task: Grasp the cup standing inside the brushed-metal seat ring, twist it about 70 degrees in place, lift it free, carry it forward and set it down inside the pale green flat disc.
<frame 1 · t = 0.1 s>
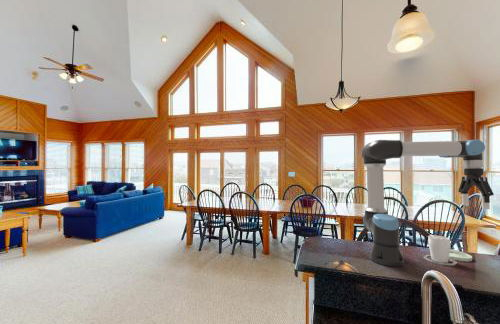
hand: (475, 207, 118), 28 cm above the counter, fingers open, 13 cm apart
seat ring: (439, 260, 115), on the counter
pale green flat disc: (455, 256, 120), on the counter
cup: (439, 260, 115), resting in seat ring
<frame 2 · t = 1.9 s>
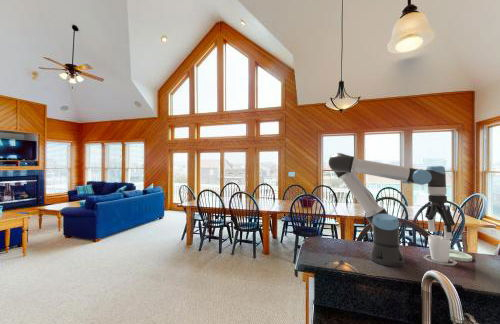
hand: (439, 234, 115), 13 cm above the counter, fingers open, 13 cm apart
nothing on the counter moved.
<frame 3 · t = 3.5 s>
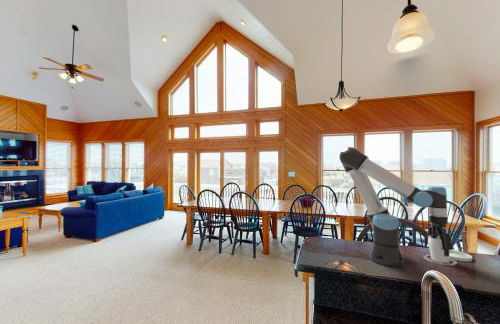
hand: (439, 258, 115), 1 cm above the counter, fingers closed on cup, 9 cm apart
cup: (439, 260, 115), resting in seat ring, touching gripper
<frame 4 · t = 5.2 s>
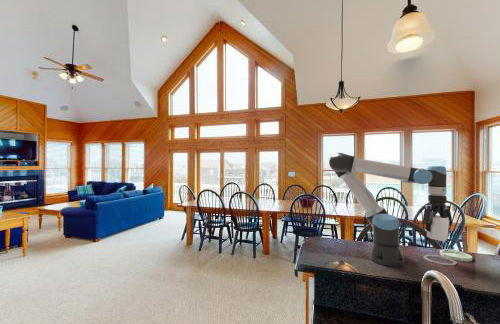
hand: (437, 237, 116), 12 cm above the counter, fingers closed on cup, 9 cm apart
cup: (437, 239, 115), point 11 cm above the counter, touching gripper
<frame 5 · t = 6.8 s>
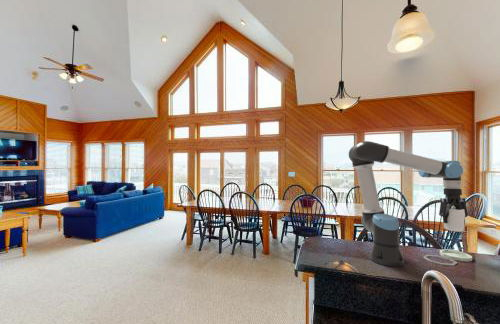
hand: (454, 228, 121), 15 cm above the counter, fingers closed on cup, 9 cm apart
cup: (454, 230, 121), point 14 cm above the counter, touching gripper
when the fingers open (3 cm above the counter, at t = 9.3 s): cup drops 2 cm, resting on pale green flat disc.
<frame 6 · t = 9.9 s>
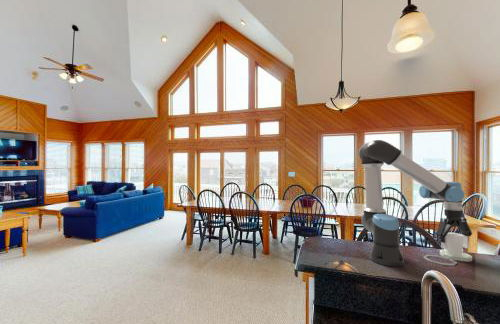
hand: (454, 248, 120), 5 cm above the counter, fingers open, 13 cm apart
cup: (453, 256, 120), resting on pale green flat disc
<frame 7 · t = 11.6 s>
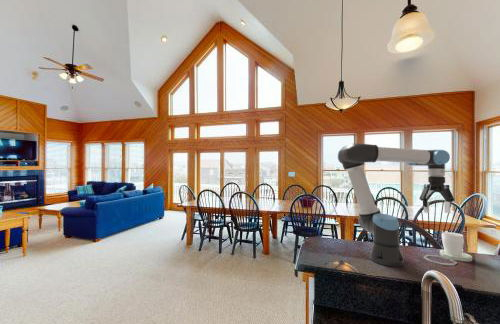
hand: (437, 212, 126), 23 cm above the counter, fingers open, 13 cm apart
nothing on the counter moved.
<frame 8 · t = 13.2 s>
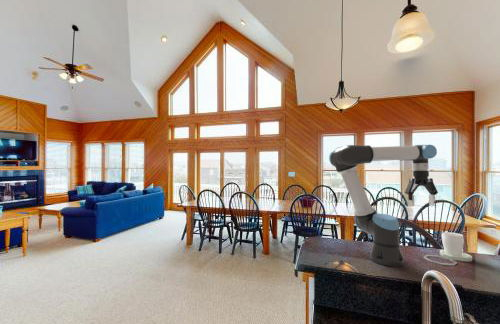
hand: (421, 205, 131), 27 cm above the counter, fingers open, 13 cm apart
nothing on the counter moved.
at the end: cup 1.4 cm from the pale green flat disc (horizontally); cup tilted 0°; the gripper is holding nothing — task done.
